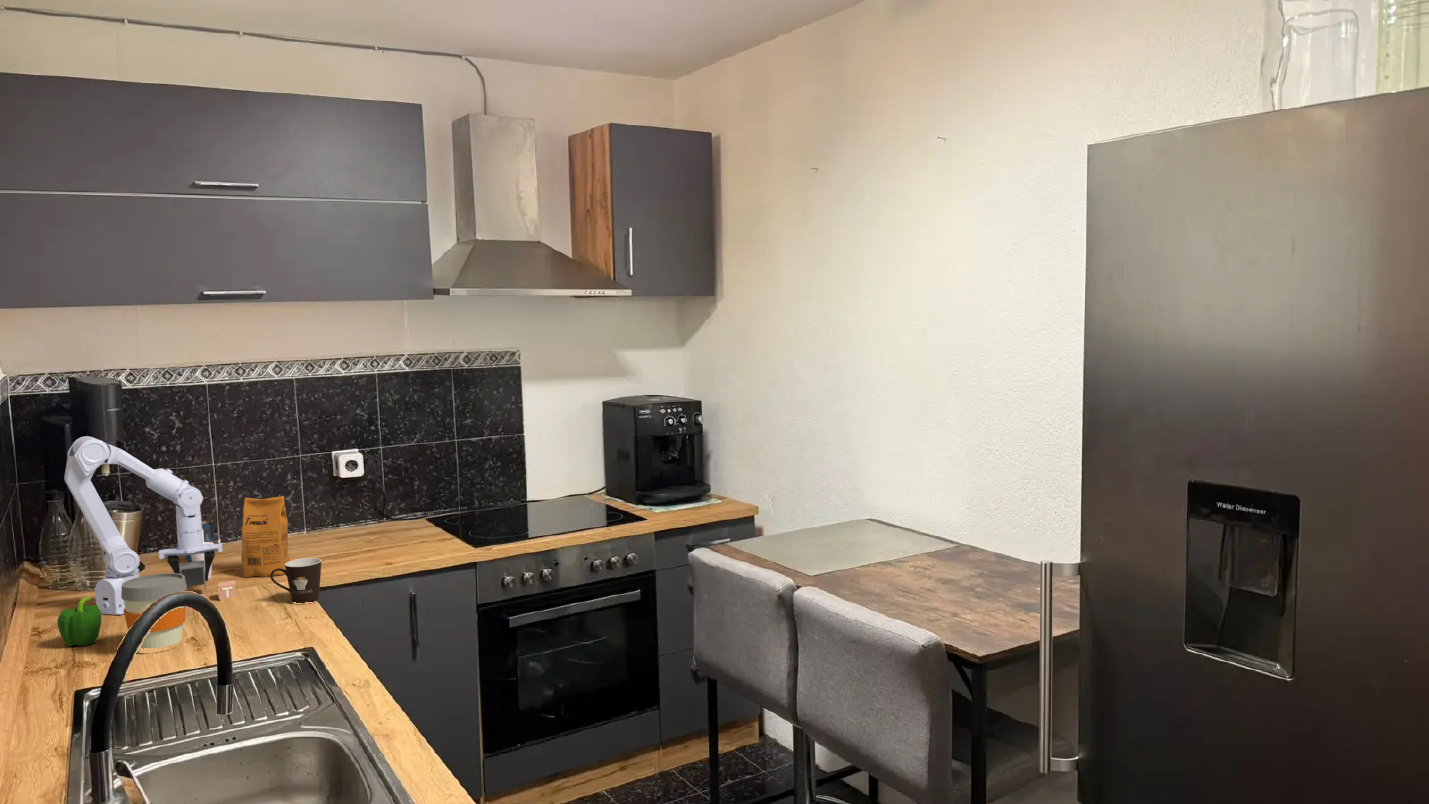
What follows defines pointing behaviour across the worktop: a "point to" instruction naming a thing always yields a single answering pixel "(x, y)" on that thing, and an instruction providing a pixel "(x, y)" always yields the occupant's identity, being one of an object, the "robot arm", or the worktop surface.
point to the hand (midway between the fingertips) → (193, 581)
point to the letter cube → (227, 589)
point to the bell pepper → (80, 624)
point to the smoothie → (202, 556)
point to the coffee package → (264, 537)
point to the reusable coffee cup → (148, 591)
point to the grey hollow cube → (193, 573)
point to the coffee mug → (302, 579)
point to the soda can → (206, 536)
